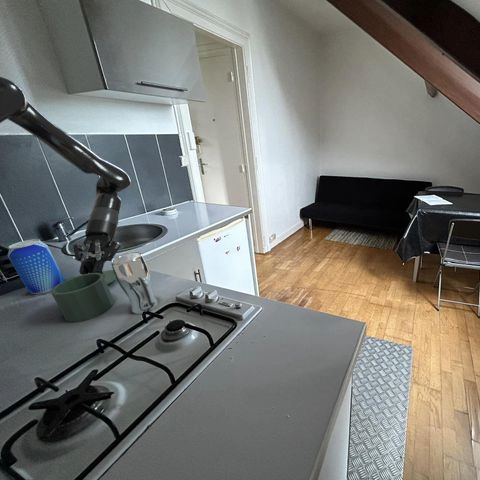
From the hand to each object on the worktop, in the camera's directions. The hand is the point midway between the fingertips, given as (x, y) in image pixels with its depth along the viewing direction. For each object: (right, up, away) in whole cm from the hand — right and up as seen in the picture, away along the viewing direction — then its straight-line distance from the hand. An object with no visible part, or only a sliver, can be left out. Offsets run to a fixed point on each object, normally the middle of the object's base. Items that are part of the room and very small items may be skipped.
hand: (90, 273), depth 80 cm
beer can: (-16, -5, +3) cm, 17 cm away
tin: (+8, -9, -8) cm, 14 cm away
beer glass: (+23, -8, -9) cm, 26 cm away
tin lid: (0, -2, +3) cm, 4 cm away
